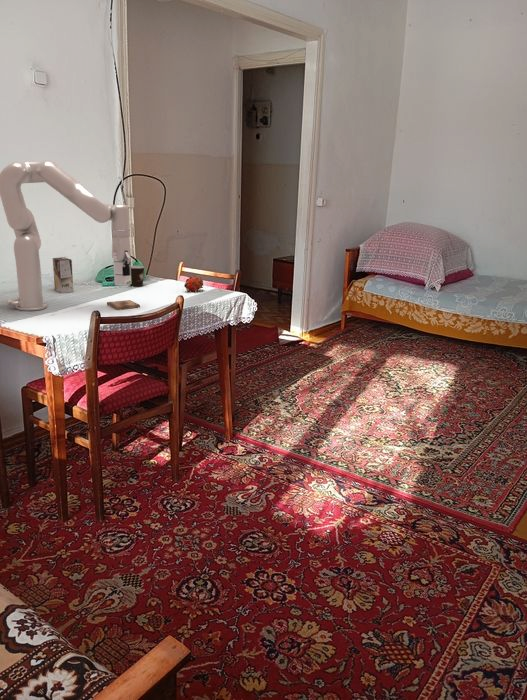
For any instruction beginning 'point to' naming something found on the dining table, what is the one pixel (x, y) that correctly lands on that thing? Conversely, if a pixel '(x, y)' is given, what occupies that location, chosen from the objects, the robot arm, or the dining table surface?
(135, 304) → the walnut board
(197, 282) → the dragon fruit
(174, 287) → the dining table surface
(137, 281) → the coffee mug
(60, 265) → the coffee box
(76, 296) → the dining table surface
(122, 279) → the syrup box
